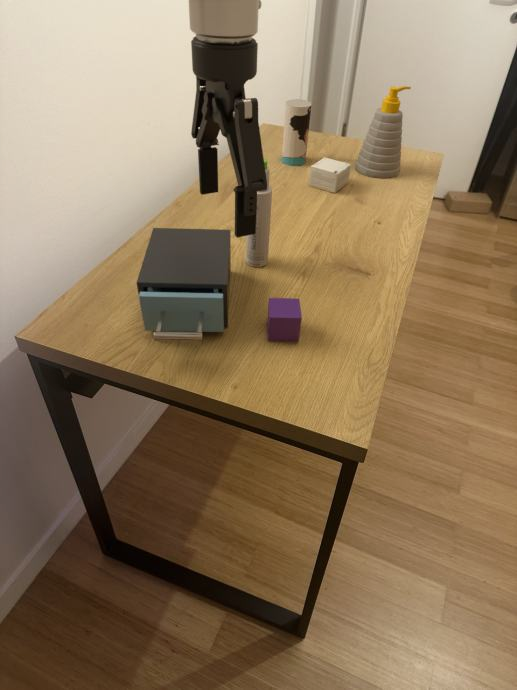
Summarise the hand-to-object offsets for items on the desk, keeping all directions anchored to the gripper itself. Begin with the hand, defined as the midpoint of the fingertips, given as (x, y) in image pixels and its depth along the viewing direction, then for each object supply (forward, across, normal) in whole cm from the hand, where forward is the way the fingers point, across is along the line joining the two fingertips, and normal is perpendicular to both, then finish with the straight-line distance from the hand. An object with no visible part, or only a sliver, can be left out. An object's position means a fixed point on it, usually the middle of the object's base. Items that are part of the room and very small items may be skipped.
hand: (225, 212), depth 66 cm
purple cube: (+19, -8, -7) cm, 22 cm away
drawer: (+18, +2, +6) cm, 19 cm away
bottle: (+19, +13, -12) cm, 26 cm away
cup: (+19, +56, -43) cm, 73 cm away
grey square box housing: (+19, +7, +4) cm, 21 cm away
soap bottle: (+19, +43, -63) cm, 78 cm away
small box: (+19, +39, -44) cm, 62 cm away
